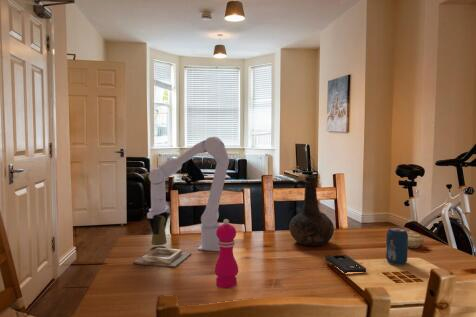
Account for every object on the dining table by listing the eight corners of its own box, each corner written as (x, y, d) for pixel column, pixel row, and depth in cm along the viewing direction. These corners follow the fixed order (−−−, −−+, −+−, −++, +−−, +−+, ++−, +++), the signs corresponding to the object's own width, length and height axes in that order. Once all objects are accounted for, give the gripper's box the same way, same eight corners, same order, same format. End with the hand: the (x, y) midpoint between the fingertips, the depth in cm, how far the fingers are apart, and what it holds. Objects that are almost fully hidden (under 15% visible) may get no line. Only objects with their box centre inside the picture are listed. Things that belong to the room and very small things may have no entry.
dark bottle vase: (342, 244, 153) (343, 176, 150) (311, 252, 142) (312, 180, 140) (310, 234, 167) (311, 172, 165) (280, 241, 157) (280, 175, 155)
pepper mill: (214, 279, 117) (213, 216, 116) (237, 278, 118) (237, 216, 116) (214, 289, 110) (214, 222, 108) (239, 288, 110) (239, 221, 109)
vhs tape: (366, 274, 122) (366, 268, 122) (344, 276, 121) (344, 270, 121) (345, 259, 136) (345, 254, 136) (325, 261, 135) (325, 255, 135)
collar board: (191, 254, 141) (191, 249, 140) (174, 267, 127) (174, 261, 127) (153, 251, 145) (152, 245, 145) (133, 263, 132) (133, 257, 131)
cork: (163, 245, 146) (163, 217, 145) (149, 245, 147) (148, 217, 146) (168, 241, 152) (168, 214, 151) (154, 240, 153) (154, 214, 152)
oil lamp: (409, 239, 161) (410, 227, 160) (433, 249, 147) (434, 236, 146) (387, 240, 159) (388, 228, 158) (409, 251, 145) (410, 238, 144)
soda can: (406, 260, 134) (407, 227, 133) (408, 267, 127) (409, 232, 127) (385, 258, 136) (386, 225, 135) (386, 264, 130) (387, 230, 129)
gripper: (158, 195, 156) (158, 226, 157) (139, 201, 142) (140, 236, 143) (173, 195, 154) (174, 228, 155) (156, 202, 141) (157, 237, 142)
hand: (159, 232), depth 149 cm, fingers closed on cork, 5 cm apart
